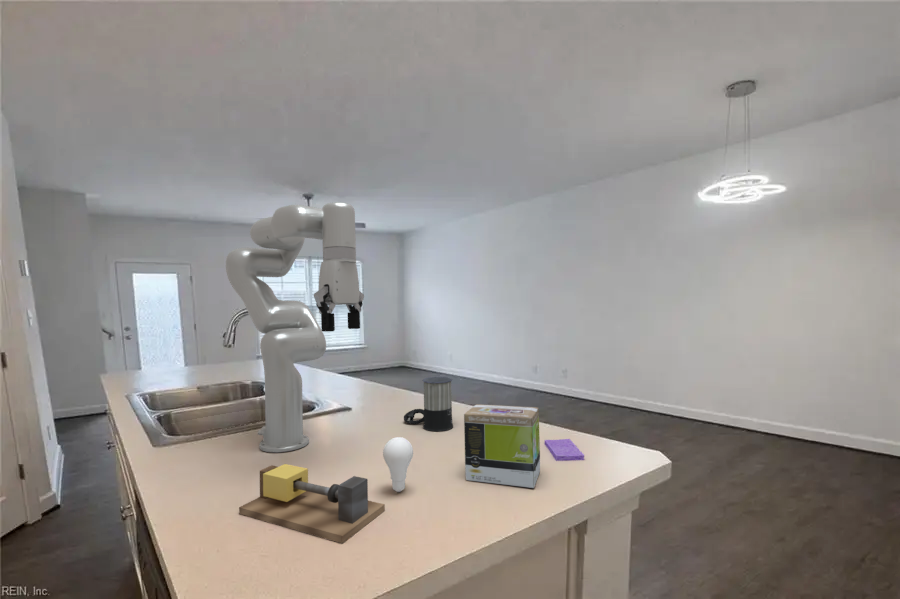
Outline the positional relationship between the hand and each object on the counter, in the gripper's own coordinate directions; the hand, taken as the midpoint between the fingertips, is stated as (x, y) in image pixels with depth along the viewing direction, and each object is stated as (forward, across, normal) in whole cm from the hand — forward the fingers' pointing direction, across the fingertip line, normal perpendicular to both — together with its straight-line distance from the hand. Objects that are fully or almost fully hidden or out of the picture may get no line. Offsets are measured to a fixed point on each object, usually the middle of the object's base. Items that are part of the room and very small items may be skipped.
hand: (341, 329), depth 103 cm
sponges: (+34, -30, +45) cm, 64 cm away
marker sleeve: (+30, +19, +1) cm, 36 cm away
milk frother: (+32, -39, +2) cm, 50 cm away
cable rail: (+33, +20, +7) cm, 39 cm away
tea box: (+33, -9, +35) cm, 49 cm away
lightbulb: (+33, +6, +18) cm, 38 cm away
